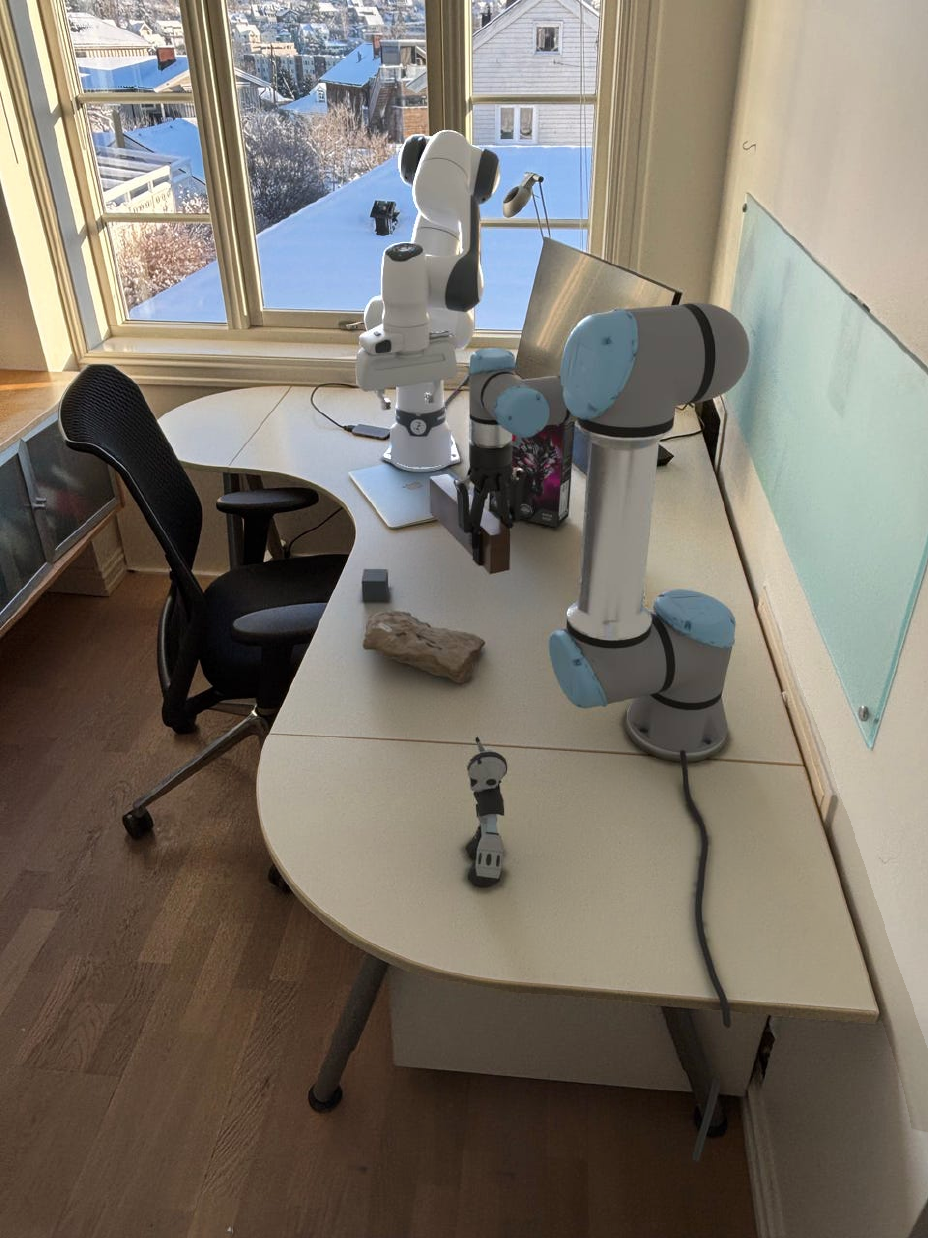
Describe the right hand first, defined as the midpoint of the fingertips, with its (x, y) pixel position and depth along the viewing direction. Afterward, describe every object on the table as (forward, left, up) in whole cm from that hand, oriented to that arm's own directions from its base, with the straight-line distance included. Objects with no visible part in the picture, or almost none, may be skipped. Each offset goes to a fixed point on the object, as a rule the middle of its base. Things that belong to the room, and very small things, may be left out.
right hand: (488, 559), depth 171 cm
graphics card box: (+34, -1, -8) cm, 35 cm away
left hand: (+22, +22, +19) cm, 37 cm away
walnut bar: (+7, +6, -1) cm, 9 cm away
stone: (-23, +6, -8) cm, 25 cm away
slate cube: (-6, +20, -8) cm, 23 cm away
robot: (-64, -16, -8) cm, 67 cm away
